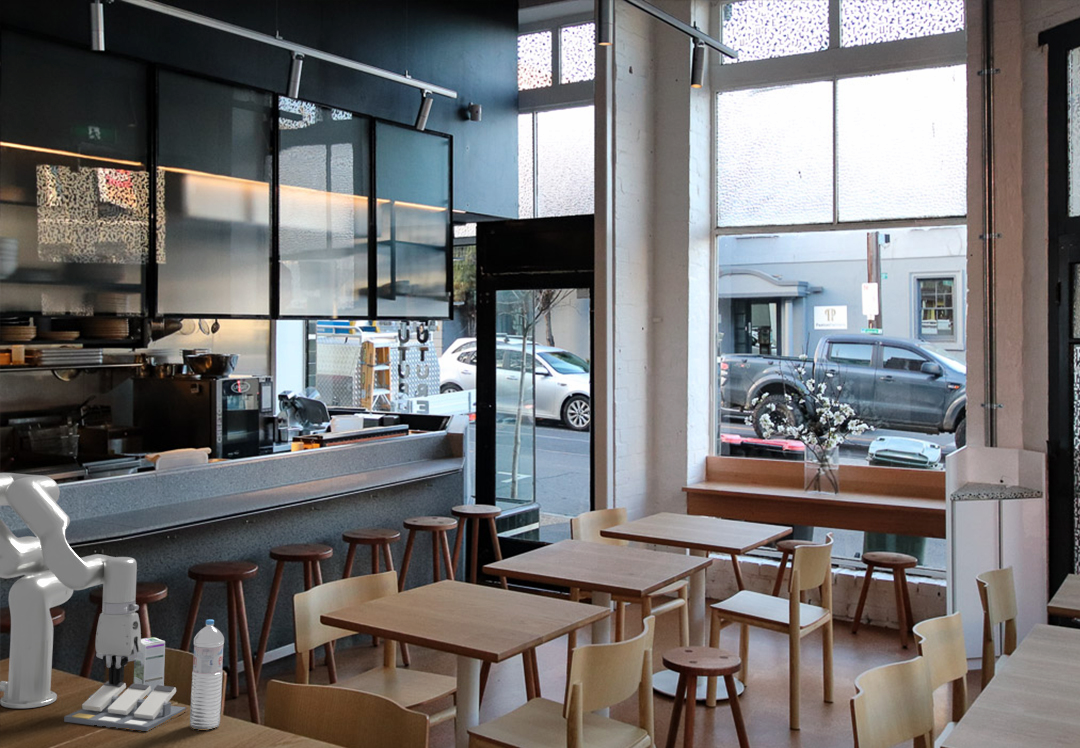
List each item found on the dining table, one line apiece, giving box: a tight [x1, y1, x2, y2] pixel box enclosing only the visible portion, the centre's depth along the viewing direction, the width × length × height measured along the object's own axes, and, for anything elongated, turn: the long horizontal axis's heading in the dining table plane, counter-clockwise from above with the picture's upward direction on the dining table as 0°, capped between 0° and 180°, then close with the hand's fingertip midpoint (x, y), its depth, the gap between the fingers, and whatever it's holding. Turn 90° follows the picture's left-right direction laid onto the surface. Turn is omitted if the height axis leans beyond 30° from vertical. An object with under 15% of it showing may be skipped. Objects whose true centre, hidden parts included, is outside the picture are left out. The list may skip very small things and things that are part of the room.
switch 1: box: [81, 680, 127, 711], centre depth 250 cm, size 5×10×2 cm, turn 167°
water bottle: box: [189, 618, 225, 730], centre depth 243 cm, size 7×7×25 cm
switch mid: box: [108, 683, 151, 715], centre depth 249 cm, size 5×10×2 cm, turn 167°
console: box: [63, 693, 187, 732], centre depth 248 cm, size 22×16×4 cm
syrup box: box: [132, 636, 166, 696], centre depth 265 cm, size 6×6×14 cm
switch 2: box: [134, 685, 177, 720], centre depth 247 cm, size 5×10×1 cm, turn 167°
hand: (116, 682), depth 254 cm, fingers closed
